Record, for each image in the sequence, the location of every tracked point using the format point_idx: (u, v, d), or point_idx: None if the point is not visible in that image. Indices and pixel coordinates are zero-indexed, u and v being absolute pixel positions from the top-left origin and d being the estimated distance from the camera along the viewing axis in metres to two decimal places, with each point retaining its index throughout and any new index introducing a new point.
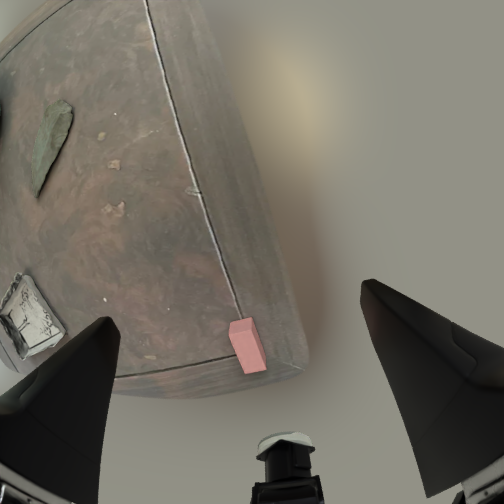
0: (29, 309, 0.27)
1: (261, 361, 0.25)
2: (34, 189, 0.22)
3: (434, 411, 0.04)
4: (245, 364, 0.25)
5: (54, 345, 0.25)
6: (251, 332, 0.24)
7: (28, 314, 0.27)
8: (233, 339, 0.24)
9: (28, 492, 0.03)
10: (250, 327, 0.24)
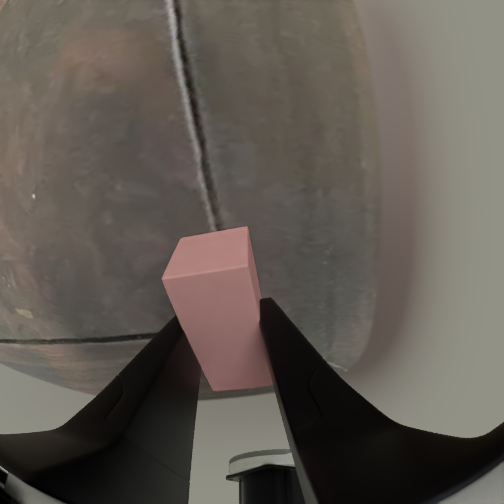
0: None
1: (264, 367, 0.08)
2: None
3: (292, 452, 0.04)
4: (215, 371, 0.08)
5: None
6: (246, 276, 0.06)
7: None
8: (179, 296, 0.07)
9: None
10: (243, 257, 0.07)
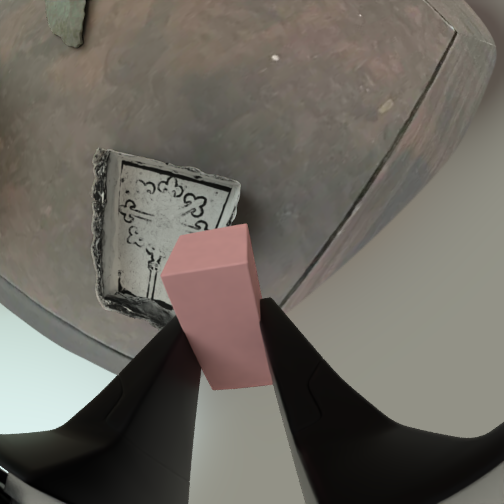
0: (147, 228, 0.19)
1: (264, 365, 0.08)
2: (73, 36, 0.11)
3: (292, 452, 0.04)
4: (215, 370, 0.08)
5: (235, 213, 0.16)
6: (246, 273, 0.06)
7: (150, 241, 0.20)
8: (177, 293, 0.07)
9: None
10: (243, 253, 0.07)
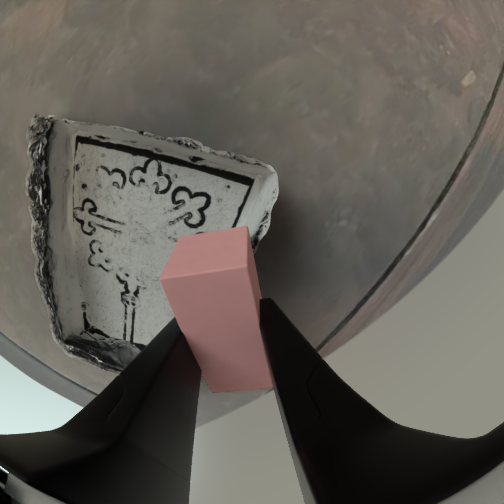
0: (115, 243, 0.12)
1: (264, 369, 0.08)
2: None
3: (291, 452, 0.04)
4: (214, 372, 0.08)
5: (267, 224, 0.09)
6: (245, 276, 0.06)
7: (122, 264, 0.12)
8: (176, 296, 0.07)
9: None
10: (243, 257, 0.07)
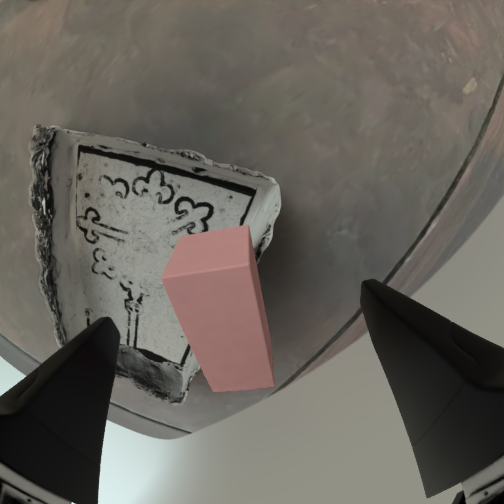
0: (119, 252, 0.12)
1: (265, 368, 0.08)
2: None
3: (434, 411, 0.04)
4: (216, 372, 0.08)
5: (269, 237, 0.09)
6: (248, 275, 0.06)
7: (125, 272, 0.12)
8: (178, 295, 0.07)
9: (28, 492, 0.03)
10: (245, 255, 0.07)
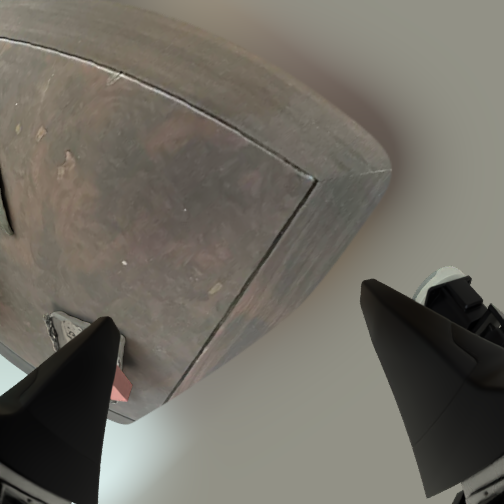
0: None
1: (121, 395, 0.23)
2: (5, 229, 0.19)
3: (434, 411, 0.04)
4: None
5: (120, 359, 0.24)
6: None
7: None
8: None
9: (28, 492, 0.03)
10: None
